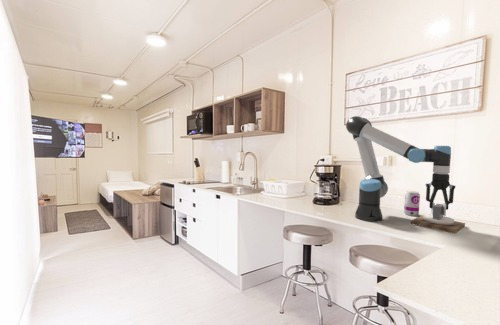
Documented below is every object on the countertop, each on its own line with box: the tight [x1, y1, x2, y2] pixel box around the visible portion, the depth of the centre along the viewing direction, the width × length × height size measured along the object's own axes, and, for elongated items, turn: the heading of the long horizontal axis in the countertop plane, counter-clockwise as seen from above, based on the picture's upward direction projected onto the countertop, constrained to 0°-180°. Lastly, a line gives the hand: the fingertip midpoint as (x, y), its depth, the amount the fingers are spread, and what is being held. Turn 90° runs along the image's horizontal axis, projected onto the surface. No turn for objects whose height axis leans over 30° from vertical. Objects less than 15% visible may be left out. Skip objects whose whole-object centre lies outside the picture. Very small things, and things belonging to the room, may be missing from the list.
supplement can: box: [403, 190, 421, 217], centre depth 164 cm, size 8×8×15 cm
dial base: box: [410, 215, 466, 234], centre depth 141 cm, size 20×20×2 cm
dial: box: [422, 203, 455, 225], centre depth 141 cm, size 14×14×9 cm
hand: (438, 214), depth 141 cm, fingers closed on dial, 5 cm apart
